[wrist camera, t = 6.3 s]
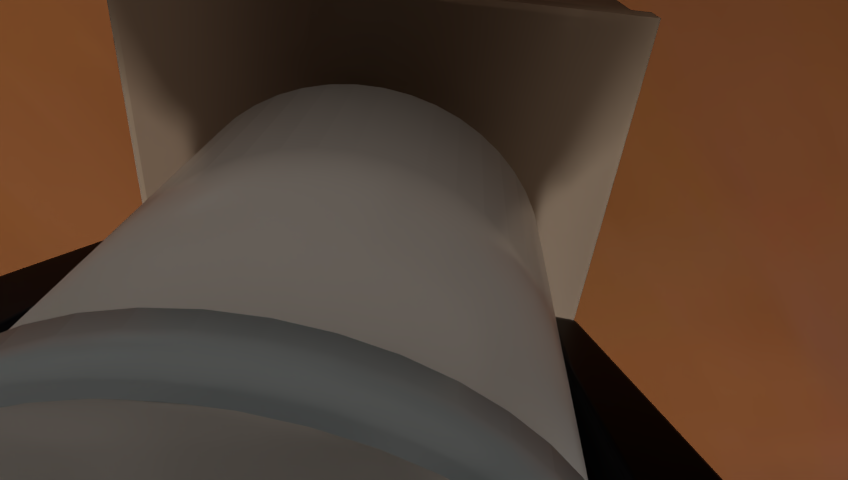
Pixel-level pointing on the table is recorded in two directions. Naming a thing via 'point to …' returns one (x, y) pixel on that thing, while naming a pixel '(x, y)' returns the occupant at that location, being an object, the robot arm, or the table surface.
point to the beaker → (304, 315)
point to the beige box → (407, 86)
